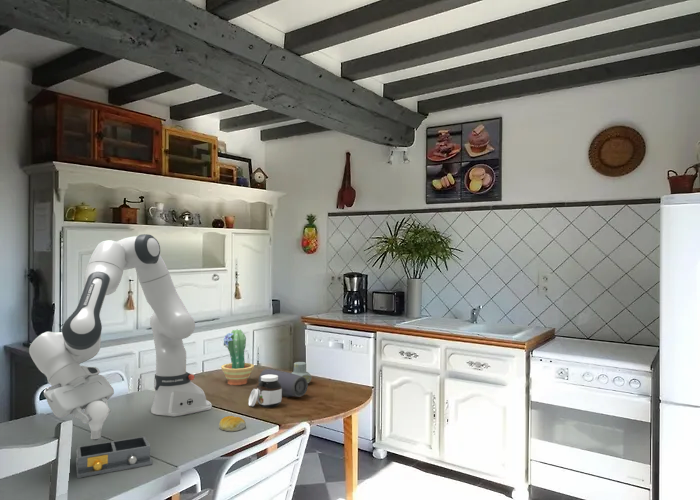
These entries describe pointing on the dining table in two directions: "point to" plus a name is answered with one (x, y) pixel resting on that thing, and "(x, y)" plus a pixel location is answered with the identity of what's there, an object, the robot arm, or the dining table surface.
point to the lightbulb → (96, 417)
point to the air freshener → (301, 370)
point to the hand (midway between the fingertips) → (98, 417)
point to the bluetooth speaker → (288, 382)
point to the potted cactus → (236, 359)
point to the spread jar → (267, 392)
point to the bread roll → (231, 423)
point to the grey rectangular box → (112, 456)
